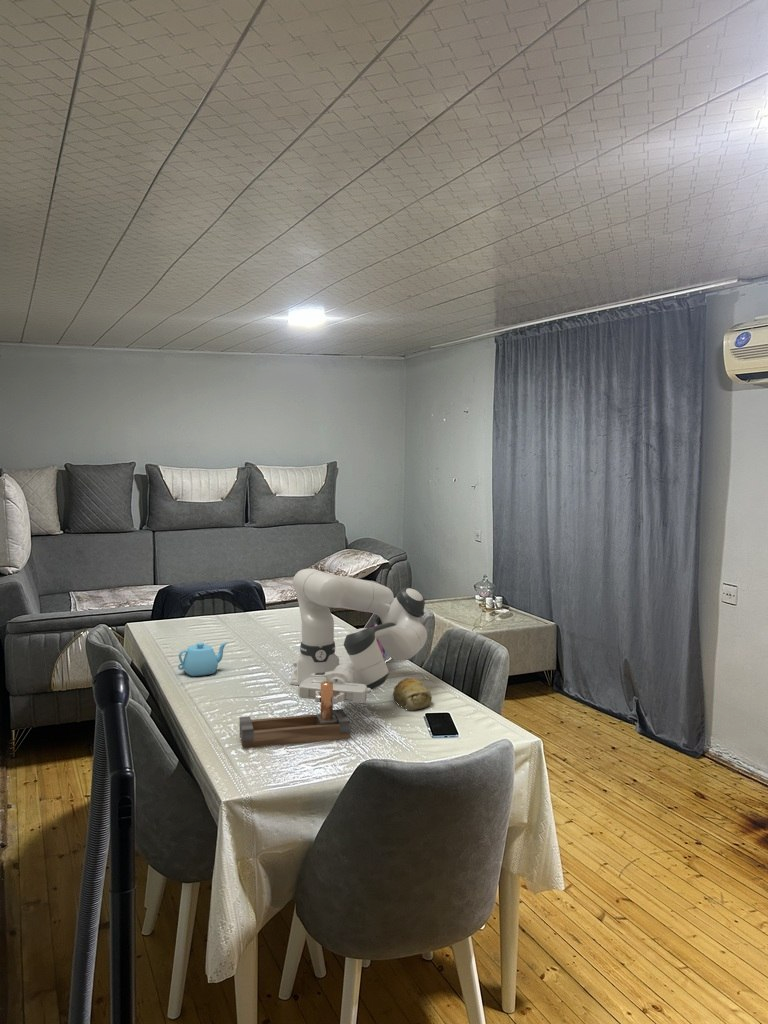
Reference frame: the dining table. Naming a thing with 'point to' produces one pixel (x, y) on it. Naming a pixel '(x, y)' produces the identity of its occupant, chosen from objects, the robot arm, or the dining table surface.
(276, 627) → the dining table surface
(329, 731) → the track
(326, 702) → the slider
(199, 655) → the teapot
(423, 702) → the pastry
